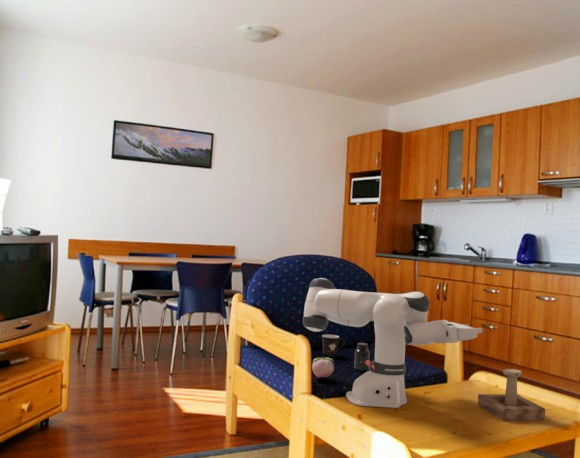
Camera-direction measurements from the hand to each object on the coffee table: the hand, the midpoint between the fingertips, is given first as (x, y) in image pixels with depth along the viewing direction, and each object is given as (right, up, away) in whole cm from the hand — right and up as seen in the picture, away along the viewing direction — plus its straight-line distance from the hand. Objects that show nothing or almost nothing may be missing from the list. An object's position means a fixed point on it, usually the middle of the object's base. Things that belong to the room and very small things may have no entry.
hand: (475, 328), depth 202 cm
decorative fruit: (-60, -24, +11) cm, 66 cm away
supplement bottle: (-41, -25, +29) cm, 56 cm away
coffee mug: (-52, -25, +54) cm, 79 cm away
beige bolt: (+6, -27, -20) cm, 34 cm away
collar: (+5, -26, -20) cm, 33 cm away
